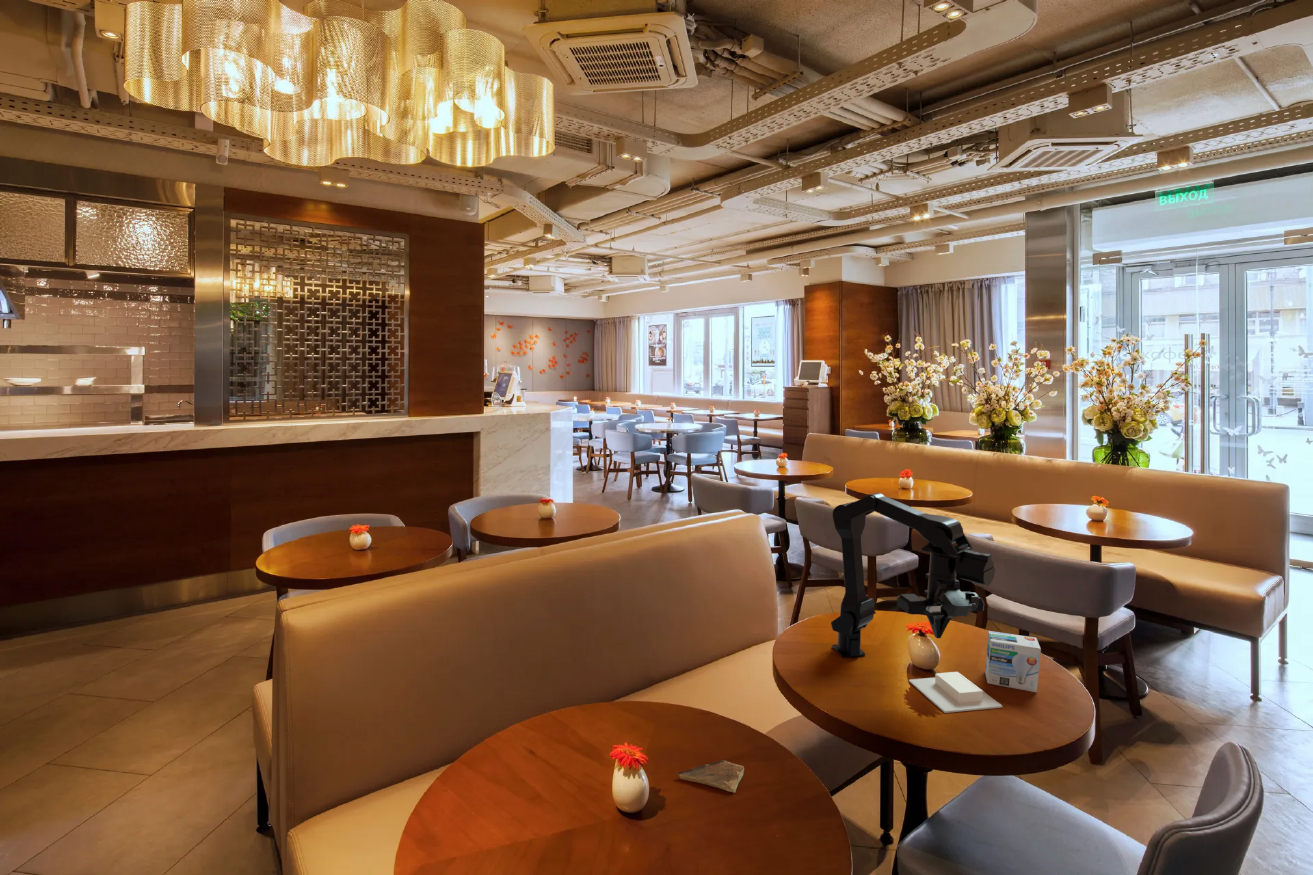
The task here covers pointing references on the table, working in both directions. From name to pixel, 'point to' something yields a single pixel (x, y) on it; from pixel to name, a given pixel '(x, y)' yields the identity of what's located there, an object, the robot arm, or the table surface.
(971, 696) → the domino block
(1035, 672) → the light bulb box
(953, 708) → the mat
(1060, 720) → the table surface
